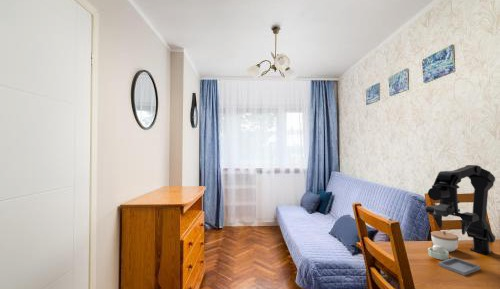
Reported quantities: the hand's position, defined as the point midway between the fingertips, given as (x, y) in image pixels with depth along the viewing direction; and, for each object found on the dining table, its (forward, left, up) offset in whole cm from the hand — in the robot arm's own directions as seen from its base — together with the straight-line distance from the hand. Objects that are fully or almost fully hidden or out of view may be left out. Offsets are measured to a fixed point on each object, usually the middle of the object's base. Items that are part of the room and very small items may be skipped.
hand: (451, 231), depth 108 cm
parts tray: (+9, +7, -13) cm, 17 cm away
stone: (+5, -3, -12) cm, 13 cm away
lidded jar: (-7, -7, -13) cm, 16 cm away
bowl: (+5, -3, -13) cm, 14 cm away
